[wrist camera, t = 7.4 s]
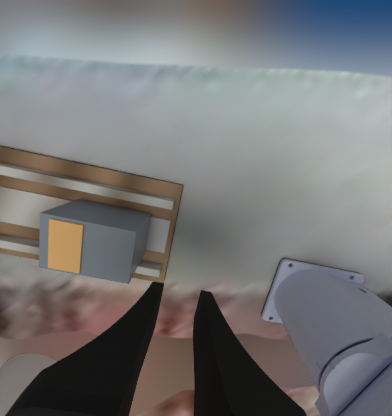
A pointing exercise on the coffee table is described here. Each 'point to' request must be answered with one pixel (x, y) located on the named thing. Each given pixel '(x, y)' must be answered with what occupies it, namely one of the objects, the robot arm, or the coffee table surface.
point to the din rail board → (81, 189)
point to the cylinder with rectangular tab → (19, 376)
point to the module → (93, 239)
